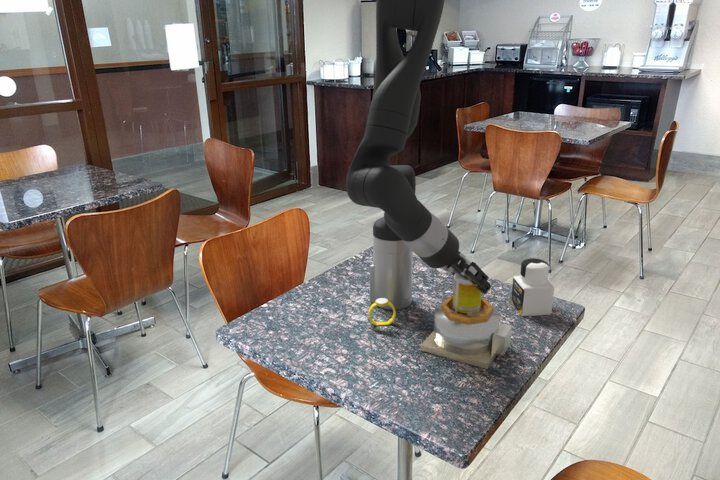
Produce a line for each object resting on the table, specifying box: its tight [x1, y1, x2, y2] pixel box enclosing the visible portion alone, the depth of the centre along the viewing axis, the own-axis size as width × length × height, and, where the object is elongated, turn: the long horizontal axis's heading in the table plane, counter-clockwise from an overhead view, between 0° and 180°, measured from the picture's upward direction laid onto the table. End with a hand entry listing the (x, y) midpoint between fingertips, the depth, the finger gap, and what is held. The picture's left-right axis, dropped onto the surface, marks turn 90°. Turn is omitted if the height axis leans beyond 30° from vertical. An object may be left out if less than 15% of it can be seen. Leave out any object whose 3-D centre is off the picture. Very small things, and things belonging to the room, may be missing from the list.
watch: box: [367, 298, 397, 327], centre depth 122 cm, size 6×3×6 cm, turn 95°
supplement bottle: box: [452, 270, 482, 316], centre depth 110 cm, size 6×6×10 cm
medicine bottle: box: [510, 257, 555, 317], centre depth 126 cm, size 7×7×12 cm
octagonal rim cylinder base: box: [420, 296, 513, 370], centre depth 113 cm, size 16×14×9 cm
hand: (474, 282), depth 111 cm, fingers open, 6 cm apart
